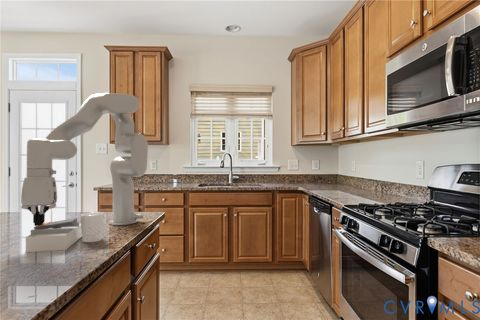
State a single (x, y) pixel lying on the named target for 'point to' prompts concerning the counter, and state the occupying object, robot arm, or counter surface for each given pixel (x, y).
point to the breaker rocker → (56, 224)
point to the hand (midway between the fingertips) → (38, 224)
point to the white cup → (92, 226)
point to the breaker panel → (53, 238)
